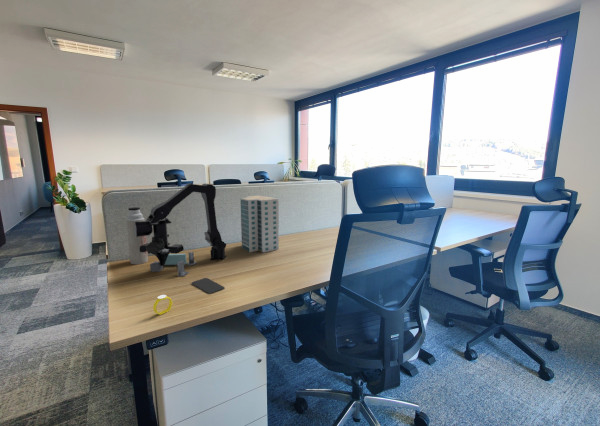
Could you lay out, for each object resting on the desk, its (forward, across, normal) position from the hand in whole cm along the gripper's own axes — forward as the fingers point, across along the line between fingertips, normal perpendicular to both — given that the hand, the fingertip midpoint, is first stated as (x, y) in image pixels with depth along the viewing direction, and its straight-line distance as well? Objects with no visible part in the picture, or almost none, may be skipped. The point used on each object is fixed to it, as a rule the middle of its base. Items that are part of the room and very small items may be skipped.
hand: (163, 265), depth 134 cm
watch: (+3, +22, -36) cm, 43 cm away
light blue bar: (+2, +1, +7) cm, 8 cm away
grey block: (+2, +11, -4) cm, 12 cm away
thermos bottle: (+2, -19, +10) cm, 21 cm away
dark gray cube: (+2, -3, 0) cm, 4 cm away
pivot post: (+2, +9, +10) cm, 13 cm away
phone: (+3, +28, -14) cm, 32 cm away
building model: (+2, +36, +41) cm, 54 cm away
